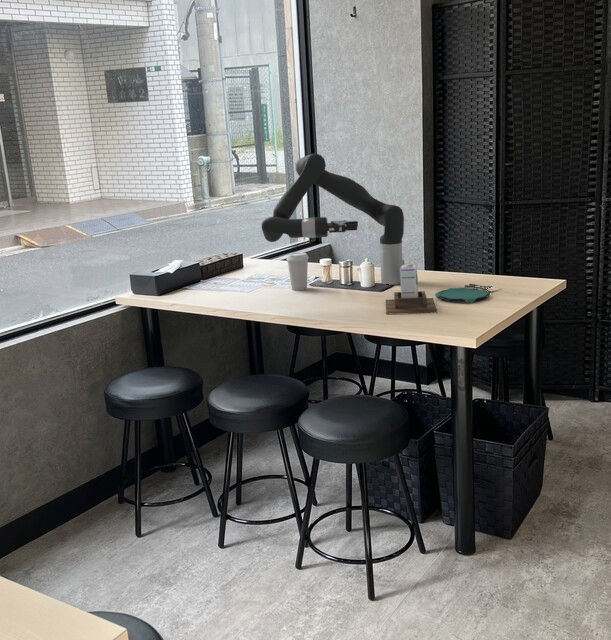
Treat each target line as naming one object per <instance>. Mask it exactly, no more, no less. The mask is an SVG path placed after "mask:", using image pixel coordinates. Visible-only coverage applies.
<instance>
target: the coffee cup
mask: <svg viewBox="0 0 611 640" xmlns="http://www.w3.org/2000/svg"><path fill="white" fill-rule="evenodd" d="M309 258H310V257H309V255H308V254H307V253H306V252H291V253H288V254H287V256H286V261H287V264H288V265H287V267H288V274H289V279H290V285H291V290H292V291H304V289H305V290H307V289H308V269H309V268H308V266H309V265H308V261H309Z"/></svg>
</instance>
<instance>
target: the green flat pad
mask: <svg viewBox="0 0 611 640" xmlns="http://www.w3.org/2000/svg"><path fill="white" fill-rule="evenodd" d="M475 286H480V287H475ZM482 287H484V288H482ZM486 287H489V288H491V287H493V286H492V285H491V286H490V285H488V286H487V285H480V284H476V283H474V284H473V283H469V284H468V285H467V284H465V285H464V287H452V288H448V289H443V290H440V291H437V292H436V293H435V297H436V298H437V299H440V298H441V299H443V300H446V301H447V300H448V301H453V302H456V301H457V302H466V303H468V304H472V303H474V302H475V301H477V300H482V299H486V298H487V297H489V296H490V295H491V293H492V292H491V291H489V292H487V291H486V290H487V289H488V288H487V289H486ZM478 288H480V289H478ZM484 289H485V290H484Z"/></svg>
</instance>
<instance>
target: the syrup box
mask: <svg viewBox="0 0 611 640" xmlns="http://www.w3.org/2000/svg"><path fill="white" fill-rule="evenodd" d="M400 279H401V284H400V292H401V298H418V291H419V283H418V265H417V264H404V265H402V266H401V268H400Z"/></svg>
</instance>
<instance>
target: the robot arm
mask: <svg viewBox="0 0 611 640" xmlns="http://www.w3.org/2000/svg"><path fill="white" fill-rule="evenodd" d="M326 167H327V165H326V161H325V158H324V157H323V156H322V155H321V154H320V153H311V154H308V155H305V156H303V157H300V158H299V159H298V160H297V161H296V163H295V171H296V173H297V175H298V177H297V179H296V180H295V182H294V183H293V184H292V185H291V186H290V187H288V189H287V190H286V191H285V192H284V194H283V195H282V196H281V197H280V199H279V200H278V202H277V204H276V205H275V206H274V209H273V215H272V216H269V217H267V218H265V219H263V221H262V222H261V231H262V234H263V236H264V238H265V240H266V241H268V242H269V243H275V242H277V241H279V240H280V239H281V238H282V236H283V234H284V235H287V237H289V238H291V239H293V238H294V239H295V238H296V239H297V238H307V239H309V238H310V239H312V238H313V239H314V238H328V235H329V234H332V233H334V234H335V233H345V232H348V231H349V232H350V231H351V232H352V231H357V230H358V226H359V222H358V221H357V220H352V221H351V220H349V221H348V220H345V219H344V220H331V221H330V222H328V218H327V216H322V217H321V216H318V217H306V218H295V219H290V218H291V217H292V215H293V214H294V213H295V211H296V210H297V208H298V206H299V204H300V203H301V201H302V200H303V198H304V197H305V196H306V194H307V193H308V192H309V190H310V189H311V188H312V186H313V185H315V186H318V187H320V188H322V189H323V190H325V191H326V192H328V193H330V194H331V195H332V196H334V197H336V198H338V199H339V200H341V202H344V203H346V204H347V205H348V206H351V207H352V208H355V209H357V210H358V211H361V212H363V213H365V214H366V215H367V216H369V217H370V218H371V219H373V220H374V221H375V222H377V224H379V225H381V226H382V227H384V230H383V234H382V235H380V237H379V250H380V254H379V255H380V279H381V280H380V281H381V284H383V285H386V284H389V286H390V285H391V286H392V285H401V279H400V268H401V266H402V265H405V259H403V237H404V228H405V223H404V222H405V220H404V219H405V217H404V212H403V209H402V208H401V206H399V205H396V204H389V203H385V202H384V201H383V202H382V201H380V200H379V199H376V198H375V197H373V196H372V195H371V194H370V193H369V191H367V189H366V188H365V187H364V186H363V185H361V184H360V183H358V182H357V181H355V180H353V179H351V178H349V177H346V176H344V175H340V174H336V173H333V172H330V171H328V170H326Z"/></svg>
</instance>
